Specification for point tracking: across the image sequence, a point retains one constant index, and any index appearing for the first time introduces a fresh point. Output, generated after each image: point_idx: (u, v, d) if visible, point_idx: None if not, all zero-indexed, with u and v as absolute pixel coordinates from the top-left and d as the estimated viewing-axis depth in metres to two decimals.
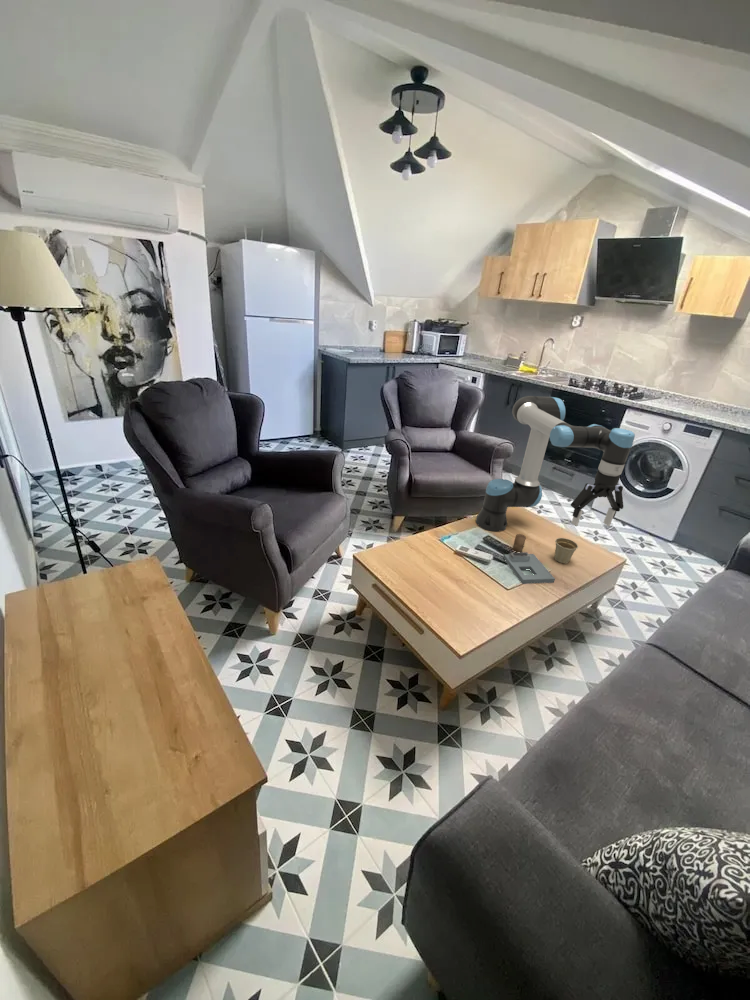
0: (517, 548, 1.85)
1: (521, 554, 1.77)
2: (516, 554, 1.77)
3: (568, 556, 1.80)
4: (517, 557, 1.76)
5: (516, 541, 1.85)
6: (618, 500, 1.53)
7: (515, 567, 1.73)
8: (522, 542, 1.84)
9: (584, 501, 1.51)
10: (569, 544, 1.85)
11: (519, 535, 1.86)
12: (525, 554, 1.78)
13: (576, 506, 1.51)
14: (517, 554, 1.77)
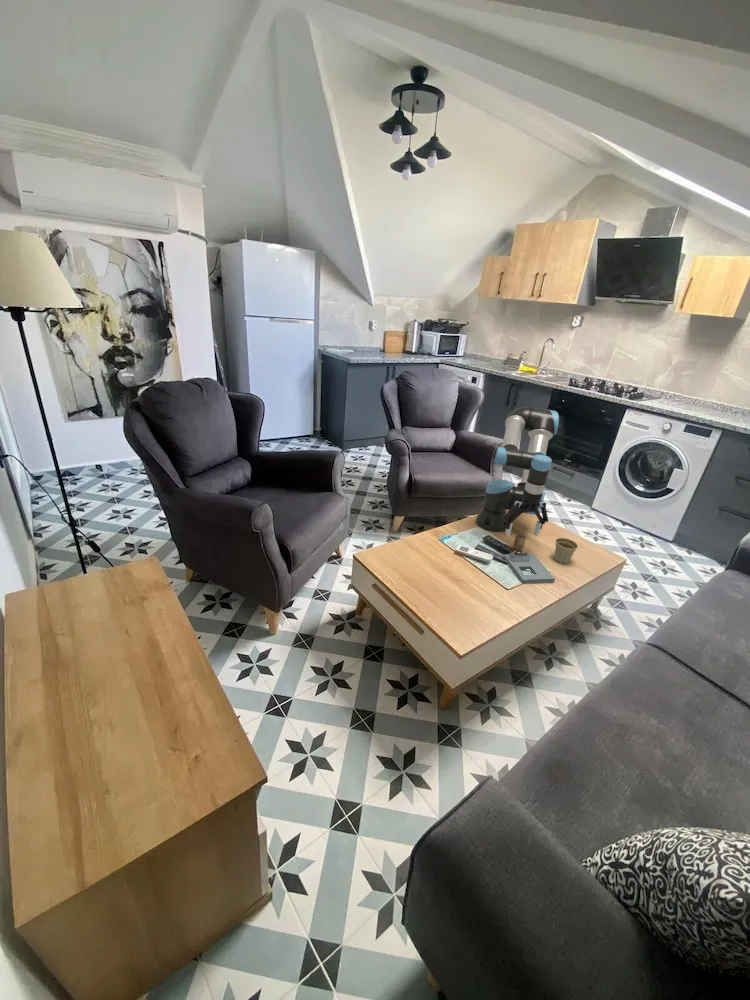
0: (517, 548, 1.85)
1: (521, 554, 1.77)
2: (516, 554, 1.77)
3: (568, 556, 1.80)
4: (517, 557, 1.76)
5: (516, 541, 1.85)
6: (543, 514, 1.81)
7: (515, 567, 1.73)
8: (522, 542, 1.84)
9: (514, 515, 1.78)
10: (569, 544, 1.85)
11: (519, 535, 1.86)
12: (525, 554, 1.78)
13: (507, 519, 1.78)
14: (517, 554, 1.77)
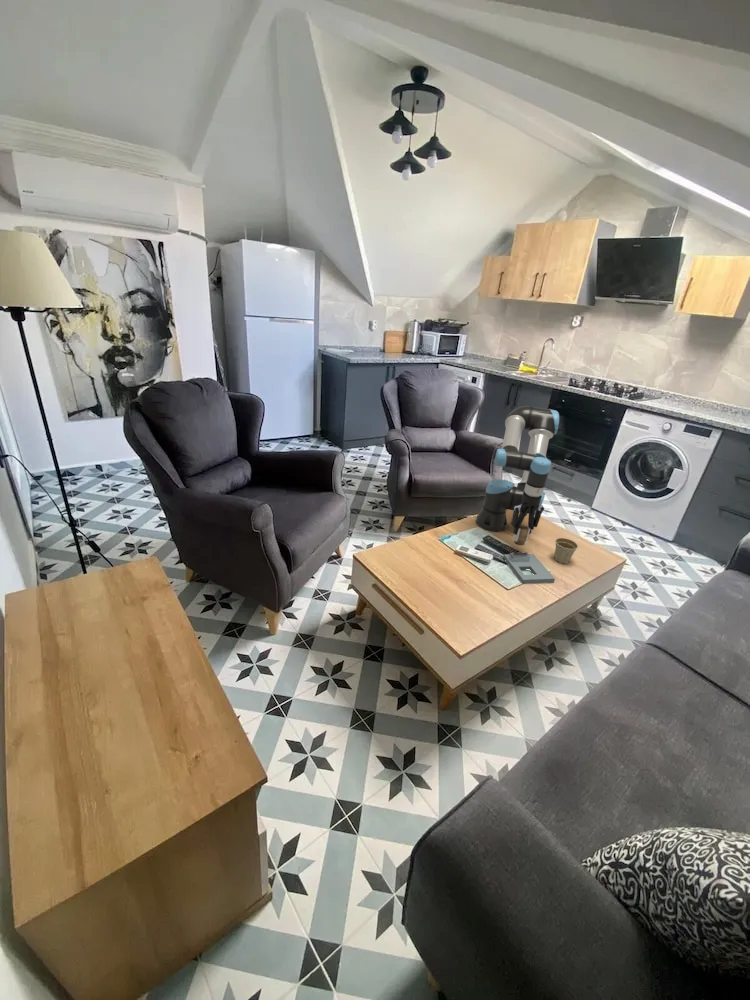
0: (519, 540, 1.84)
1: (521, 554, 1.77)
2: (516, 554, 1.77)
3: (568, 556, 1.80)
4: (517, 557, 1.76)
5: None
6: (536, 519, 1.82)
7: (515, 567, 1.73)
8: (524, 533, 1.82)
9: (519, 520, 1.81)
10: (569, 544, 1.85)
11: (521, 526, 1.84)
12: (525, 554, 1.78)
13: (514, 525, 1.81)
14: (517, 554, 1.77)
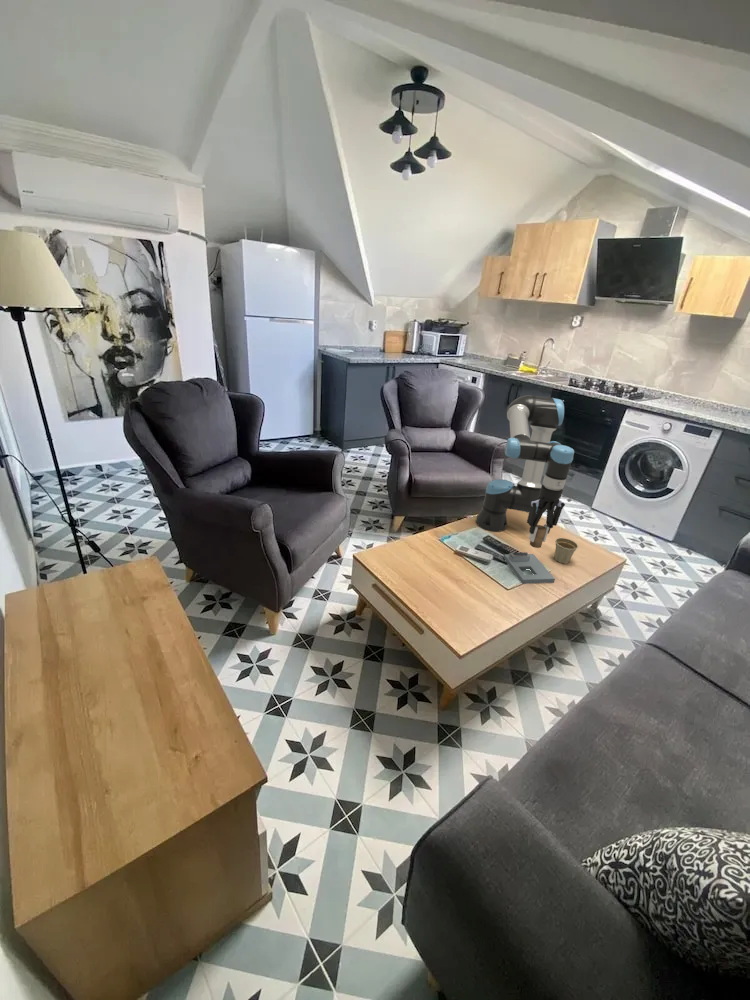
0: (536, 541, 1.63)
1: (521, 554, 1.77)
2: (516, 554, 1.77)
3: (568, 556, 1.80)
4: (517, 557, 1.76)
5: None
6: (555, 516, 1.61)
7: (515, 567, 1.73)
8: (542, 534, 1.62)
9: (536, 518, 1.60)
10: (569, 544, 1.85)
11: (538, 526, 1.64)
12: (525, 554, 1.78)
13: (531, 523, 1.60)
14: (517, 554, 1.77)
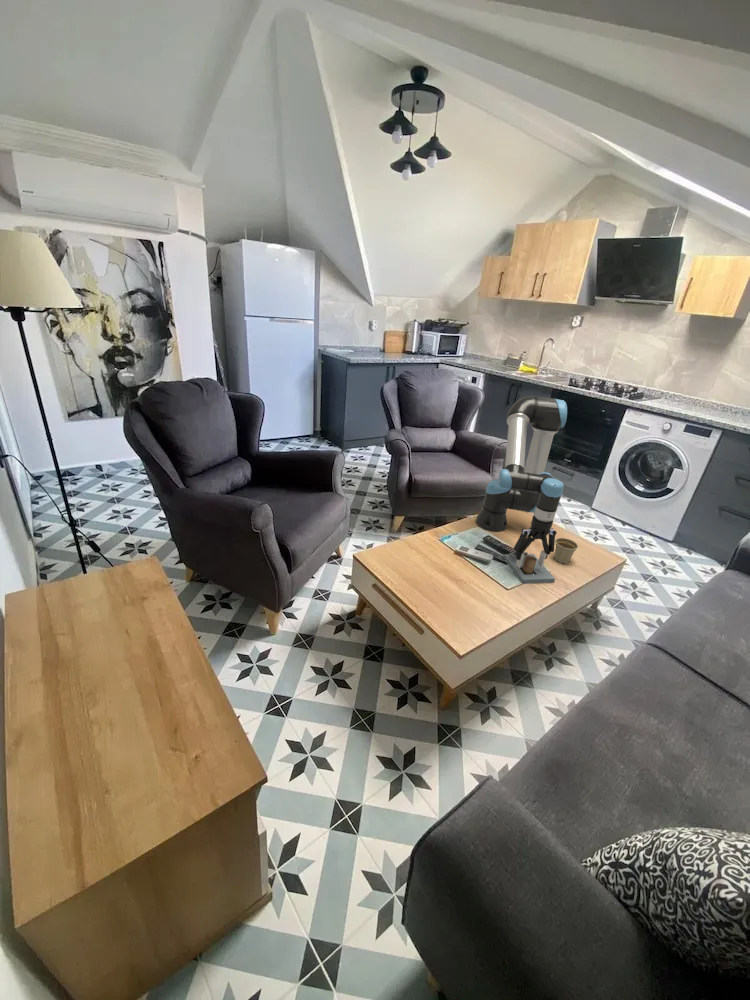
0: (527, 571, 1.70)
1: None
2: (516, 554, 1.77)
3: (568, 556, 1.80)
4: None
5: (526, 563, 1.69)
6: (550, 543, 1.67)
7: (515, 567, 1.73)
8: (532, 565, 1.68)
9: (524, 545, 1.65)
10: (569, 544, 1.85)
11: (529, 557, 1.70)
12: (525, 554, 1.78)
13: (518, 550, 1.65)
14: None
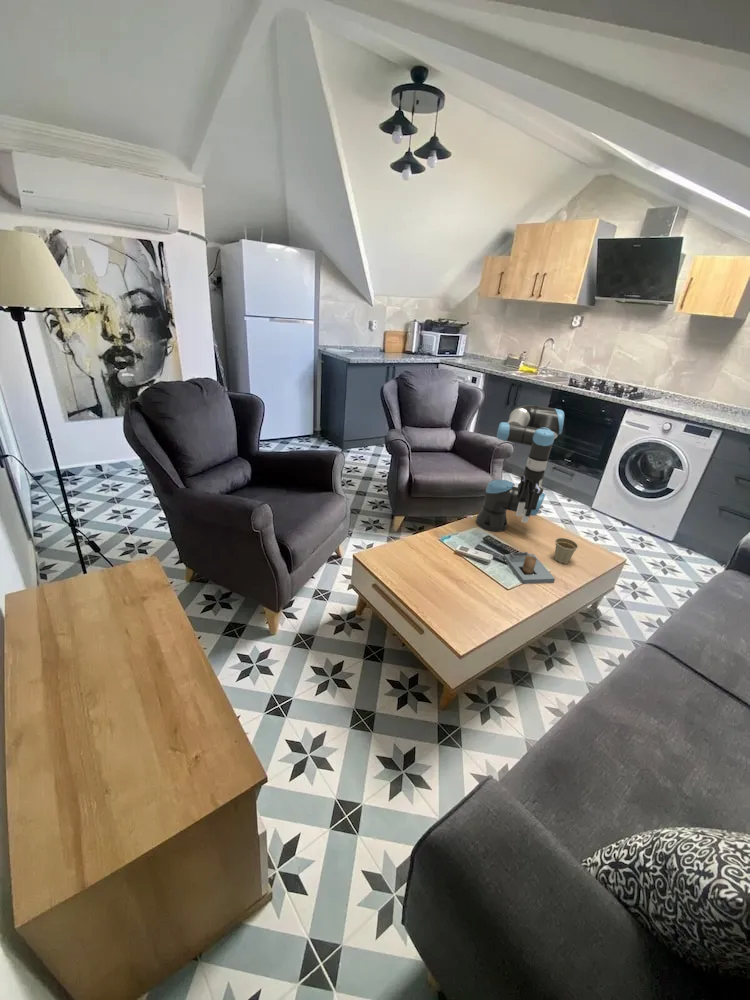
0: (527, 571, 1.70)
1: (521, 554, 1.77)
2: (516, 554, 1.77)
3: (568, 556, 1.80)
4: (517, 557, 1.76)
5: (526, 563, 1.69)
6: None
7: (515, 567, 1.73)
8: (532, 565, 1.68)
9: None
10: (569, 544, 1.85)
11: (529, 557, 1.70)
12: (525, 554, 1.78)
13: (517, 495, 1.78)
14: (517, 554, 1.77)
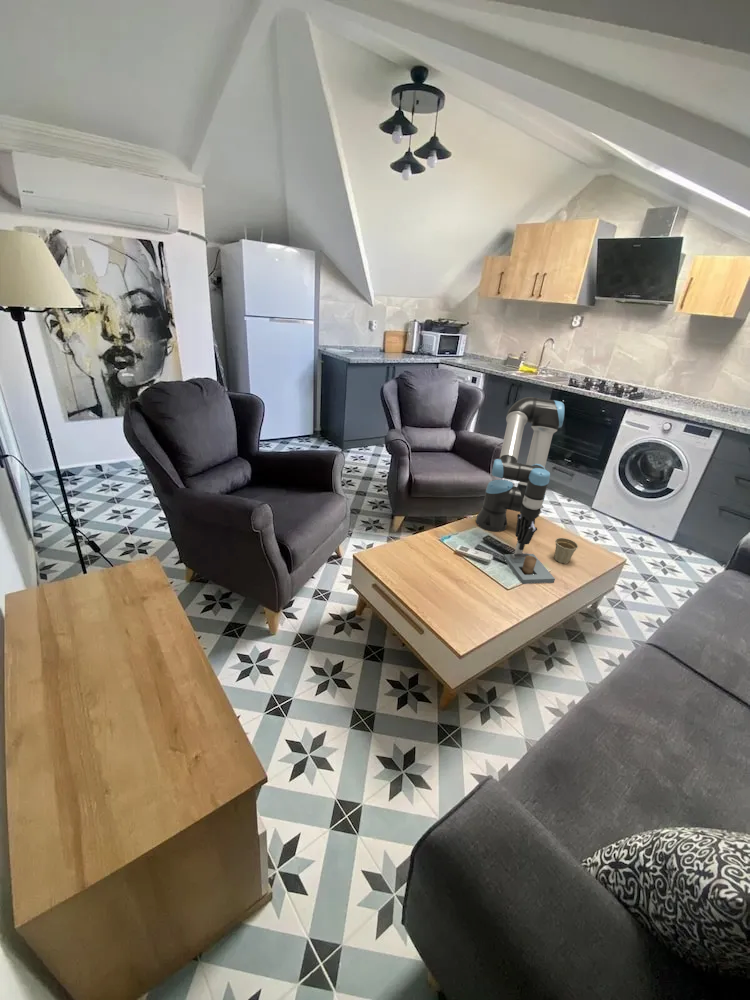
0: (527, 571, 1.70)
1: (522, 556, 1.77)
2: (517, 555, 1.76)
3: (568, 556, 1.80)
4: (518, 558, 1.76)
5: (526, 563, 1.69)
6: None
7: (515, 567, 1.73)
8: (532, 565, 1.68)
9: None
10: (569, 544, 1.85)
11: (529, 557, 1.70)
12: (526, 555, 1.77)
13: (516, 534, 1.78)
14: (518, 555, 1.76)
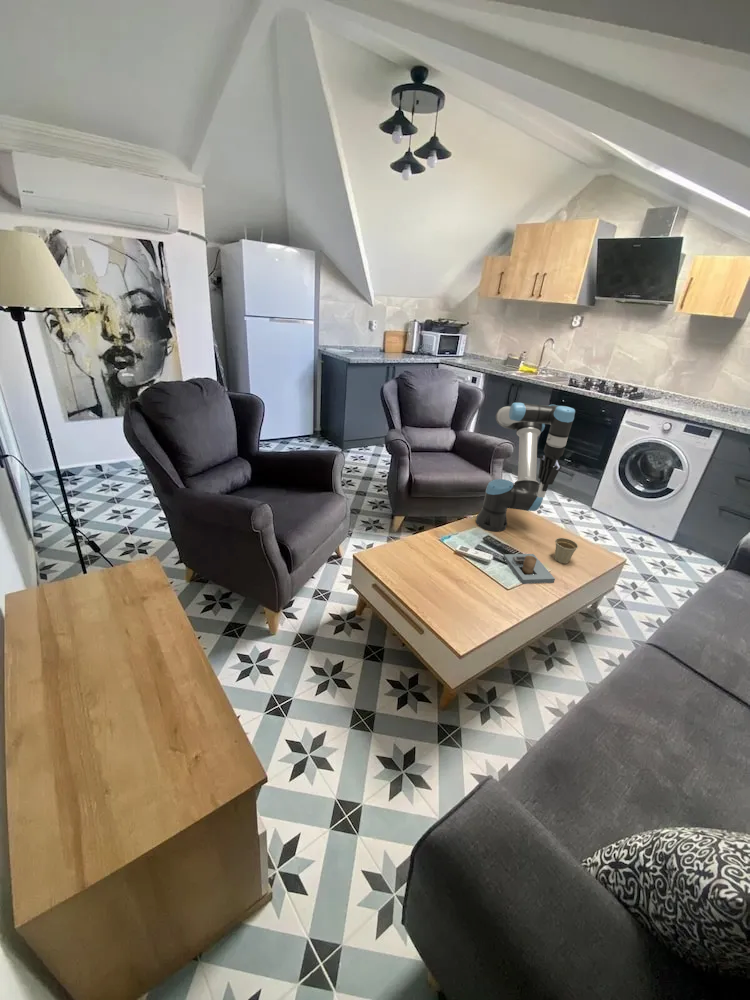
0: (527, 571, 1.70)
1: (524, 558, 1.75)
2: (519, 558, 1.74)
3: (568, 556, 1.80)
4: (520, 561, 1.74)
5: (526, 563, 1.69)
6: None
7: (515, 567, 1.73)
8: (532, 565, 1.68)
9: None
10: (569, 544, 1.85)
11: (529, 557, 1.70)
12: None
13: (539, 476, 1.80)
14: (520, 558, 1.74)
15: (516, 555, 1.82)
